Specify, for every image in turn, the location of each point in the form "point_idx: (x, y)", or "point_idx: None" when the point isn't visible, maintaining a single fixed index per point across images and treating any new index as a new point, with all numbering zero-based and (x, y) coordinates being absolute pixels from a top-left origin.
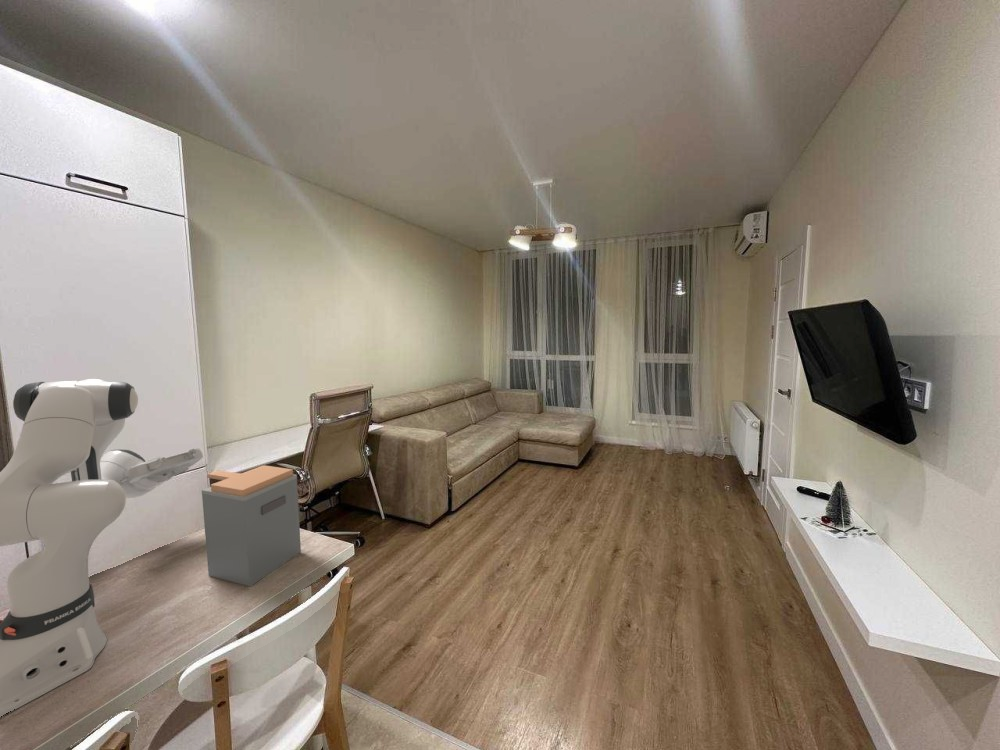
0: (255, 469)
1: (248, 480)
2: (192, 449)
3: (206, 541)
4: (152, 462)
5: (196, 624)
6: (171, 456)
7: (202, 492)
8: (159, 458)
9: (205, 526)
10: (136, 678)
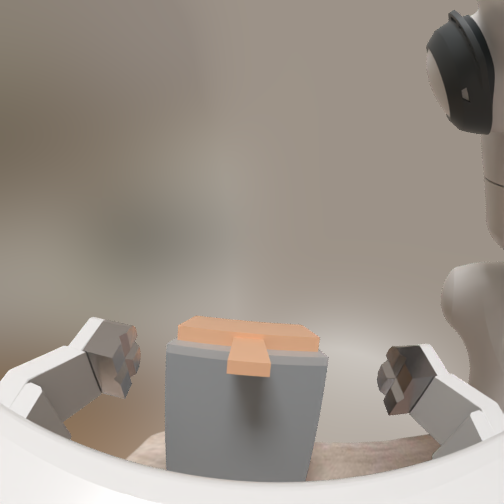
0: (210, 328)
1: (268, 326)
2: (124, 325)
3: (308, 465)
4: (470, 394)
5: (355, 457)
6: (240, 483)
7: (327, 362)
8: (425, 344)
9: (314, 438)
10: (405, 440)
